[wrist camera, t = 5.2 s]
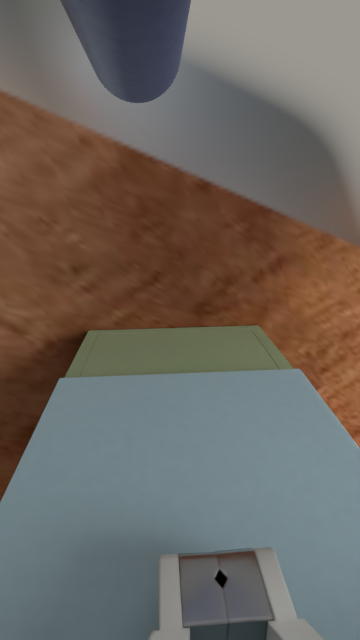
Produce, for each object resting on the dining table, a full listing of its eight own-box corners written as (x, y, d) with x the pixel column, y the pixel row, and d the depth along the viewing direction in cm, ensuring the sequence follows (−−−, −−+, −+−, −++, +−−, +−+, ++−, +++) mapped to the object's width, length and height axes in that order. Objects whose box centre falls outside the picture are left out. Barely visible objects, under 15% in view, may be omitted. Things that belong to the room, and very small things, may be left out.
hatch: (746, 1022, 5) (786, 1012, 5) (-295, 1196, 4) (-338, 1201, 4) (298, 380, 20) (299, 368, 20) (61, 390, 19) (59, 377, 19)
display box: (247, 476, 33) (273, 557, 26) (104, 485, 32) (89, 570, 25) (258, 325, 28) (295, 370, 21) (88, 330, 27) (62, 379, 20)
